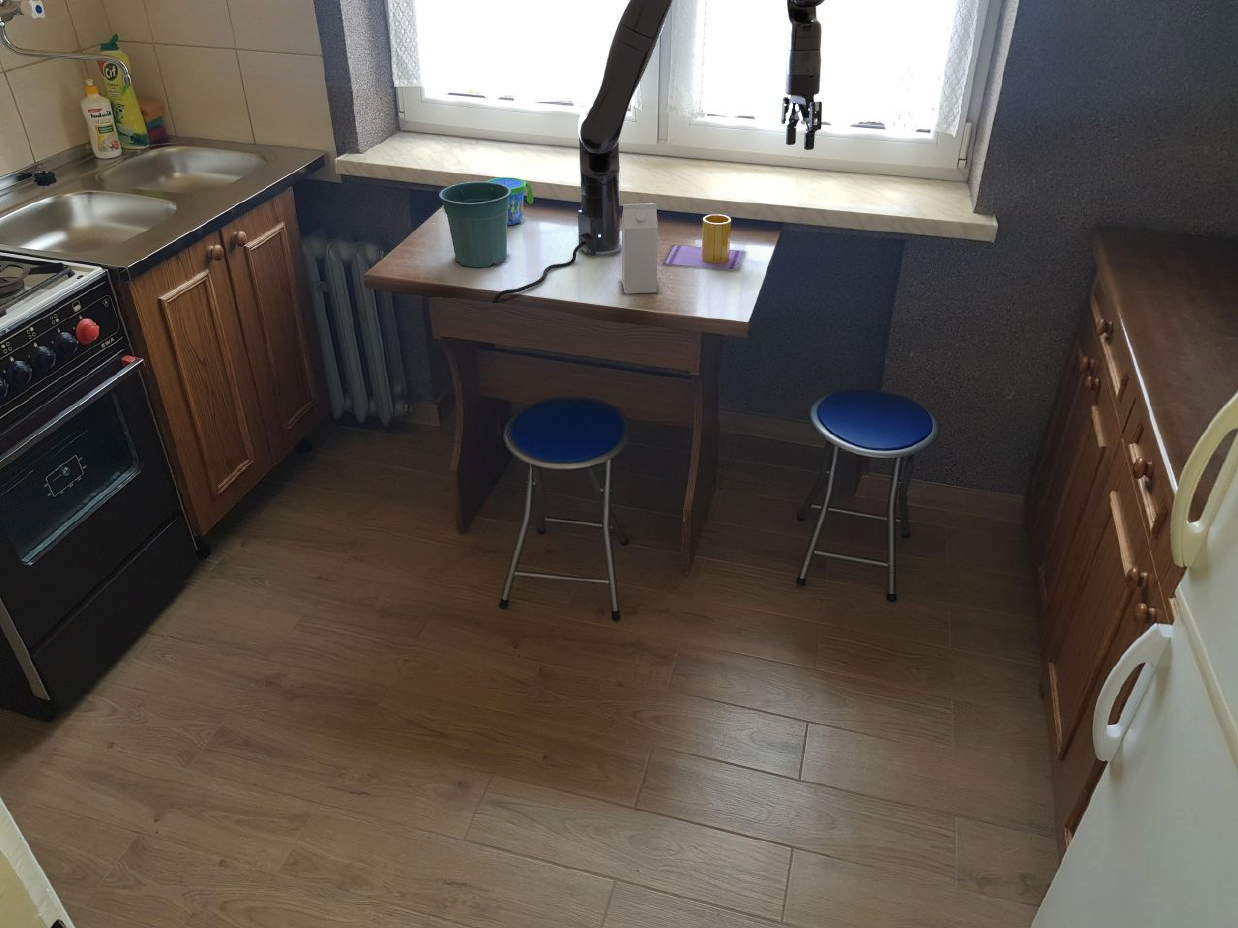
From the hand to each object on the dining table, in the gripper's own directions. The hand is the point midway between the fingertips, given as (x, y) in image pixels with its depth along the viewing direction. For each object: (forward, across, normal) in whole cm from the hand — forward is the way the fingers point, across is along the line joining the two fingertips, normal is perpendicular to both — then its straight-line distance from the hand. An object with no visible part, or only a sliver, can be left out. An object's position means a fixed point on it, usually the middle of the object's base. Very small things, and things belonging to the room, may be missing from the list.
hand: (799, 147), depth 221 cm
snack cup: (+20, -44, -60) cm, 77 cm away
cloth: (+24, -3, -22) cm, 33 cm away
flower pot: (+23, -22, -72) cm, 79 cm away
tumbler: (+24, -2, -20) cm, 31 cm away
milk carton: (+26, +7, -43) cm, 51 cm away
